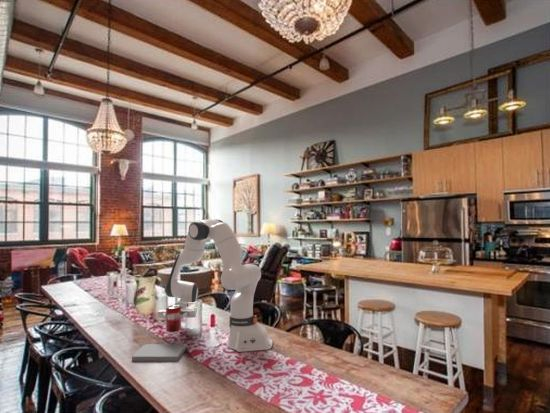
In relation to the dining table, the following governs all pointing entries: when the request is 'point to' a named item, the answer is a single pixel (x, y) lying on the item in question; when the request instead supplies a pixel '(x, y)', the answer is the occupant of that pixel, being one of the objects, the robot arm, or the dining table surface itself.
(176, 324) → the soda can
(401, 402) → the dining table surface
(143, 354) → the serving board
